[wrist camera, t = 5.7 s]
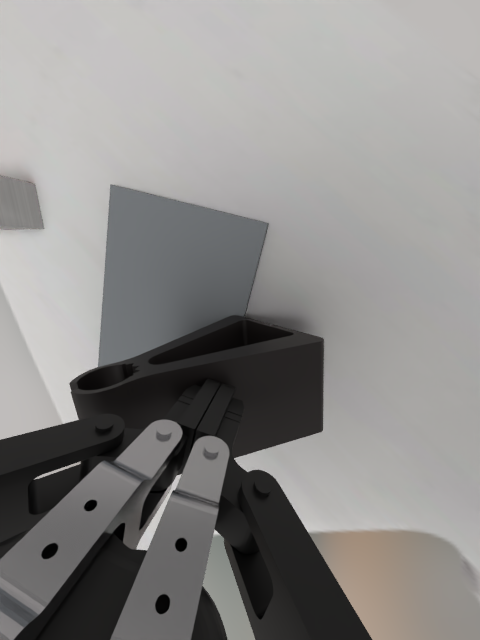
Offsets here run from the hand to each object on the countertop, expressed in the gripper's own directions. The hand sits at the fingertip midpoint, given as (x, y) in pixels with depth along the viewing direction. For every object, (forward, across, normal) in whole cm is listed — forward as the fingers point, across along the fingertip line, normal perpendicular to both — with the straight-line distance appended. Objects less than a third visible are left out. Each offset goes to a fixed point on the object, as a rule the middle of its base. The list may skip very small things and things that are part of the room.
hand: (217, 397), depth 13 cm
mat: (+10, +7, 0) cm, 12 cm away
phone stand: (+6, -3, 0) cm, 7 cm away
